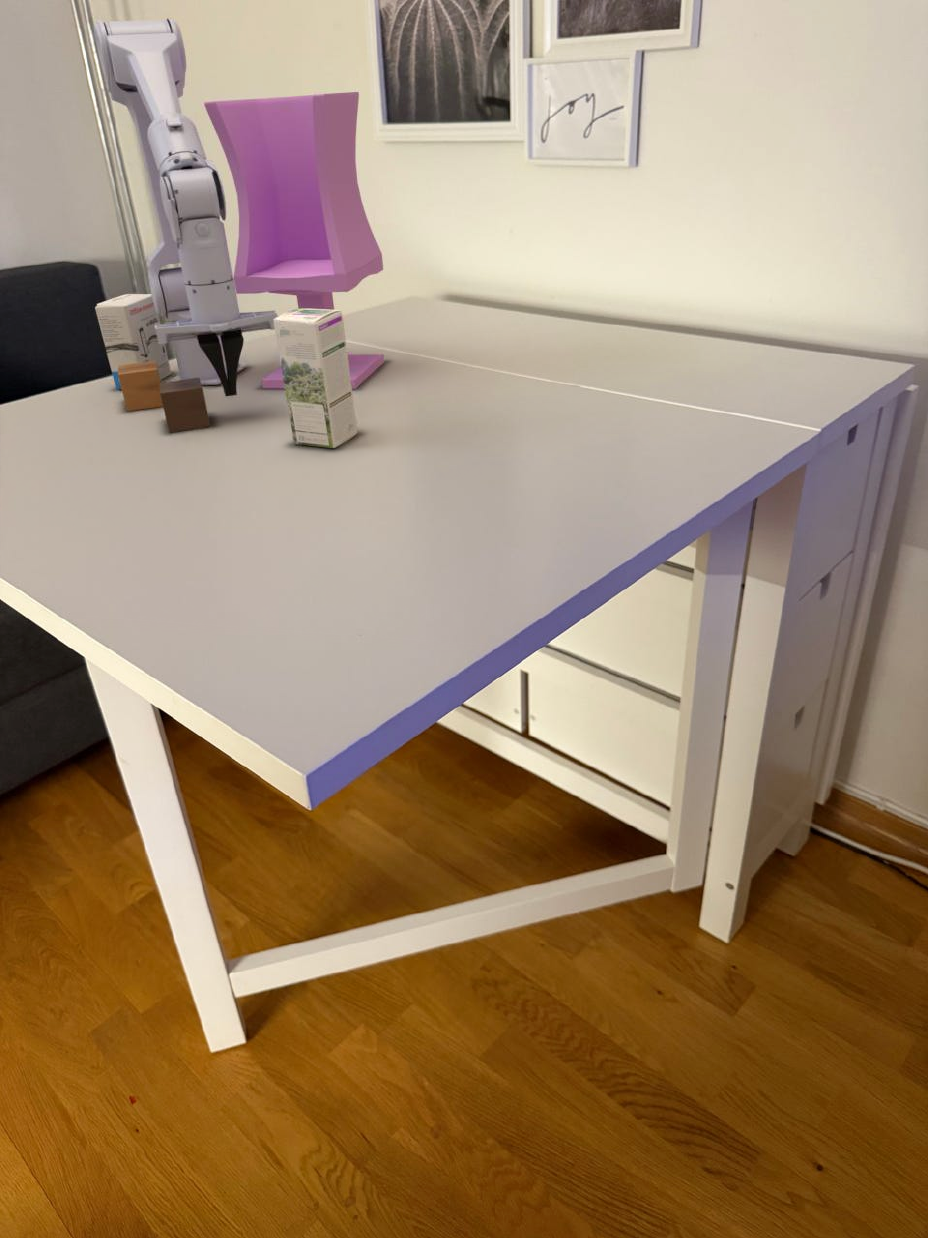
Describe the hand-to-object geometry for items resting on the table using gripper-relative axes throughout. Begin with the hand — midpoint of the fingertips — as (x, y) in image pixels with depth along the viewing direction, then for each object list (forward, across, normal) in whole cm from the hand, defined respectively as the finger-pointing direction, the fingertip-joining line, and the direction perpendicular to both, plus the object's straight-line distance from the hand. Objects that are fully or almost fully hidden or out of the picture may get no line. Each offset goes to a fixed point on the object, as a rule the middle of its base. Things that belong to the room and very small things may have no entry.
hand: (230, 393), depth 114 cm
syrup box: (+3, +9, -14) cm, 17 cm away
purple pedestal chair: (+3, +14, +14) cm, 20 cm away
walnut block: (+3, -6, 0) cm, 7 cm away
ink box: (+3, -11, +24) cm, 27 cm away
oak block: (+3, -11, +12) cm, 17 cm away
